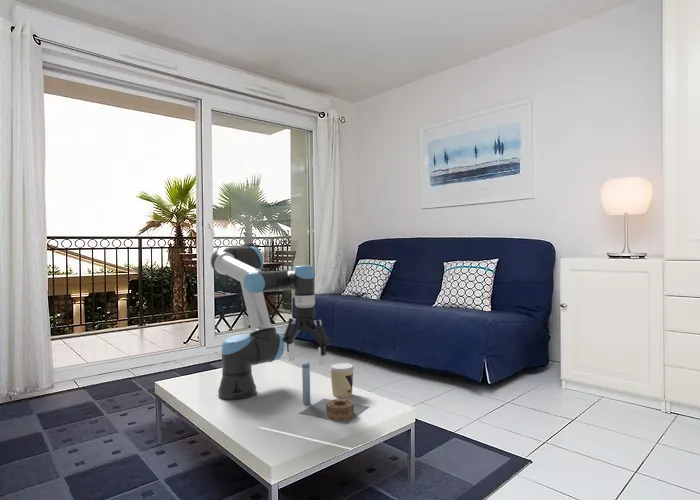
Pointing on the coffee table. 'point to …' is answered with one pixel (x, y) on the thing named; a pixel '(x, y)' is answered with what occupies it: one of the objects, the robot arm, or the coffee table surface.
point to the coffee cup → (342, 379)
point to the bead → (340, 409)
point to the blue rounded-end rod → (306, 382)
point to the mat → (320, 411)
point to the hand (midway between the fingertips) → (306, 362)
